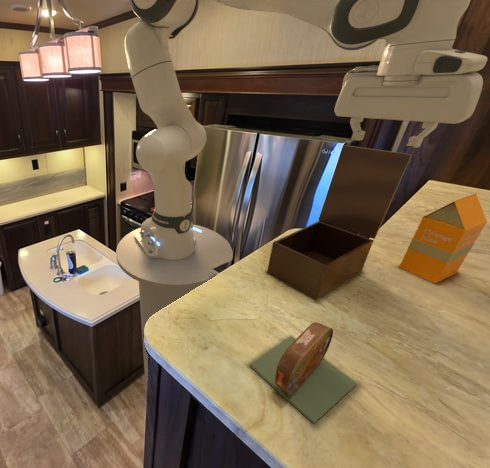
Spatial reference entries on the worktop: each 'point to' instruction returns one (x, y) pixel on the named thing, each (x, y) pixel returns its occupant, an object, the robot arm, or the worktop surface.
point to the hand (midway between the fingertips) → (383, 143)
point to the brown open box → (318, 258)
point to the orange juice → (444, 239)
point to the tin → (303, 357)
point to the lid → (363, 188)
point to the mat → (307, 383)
